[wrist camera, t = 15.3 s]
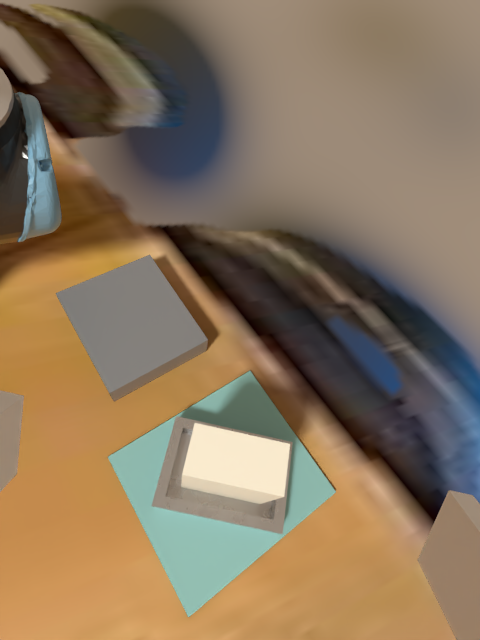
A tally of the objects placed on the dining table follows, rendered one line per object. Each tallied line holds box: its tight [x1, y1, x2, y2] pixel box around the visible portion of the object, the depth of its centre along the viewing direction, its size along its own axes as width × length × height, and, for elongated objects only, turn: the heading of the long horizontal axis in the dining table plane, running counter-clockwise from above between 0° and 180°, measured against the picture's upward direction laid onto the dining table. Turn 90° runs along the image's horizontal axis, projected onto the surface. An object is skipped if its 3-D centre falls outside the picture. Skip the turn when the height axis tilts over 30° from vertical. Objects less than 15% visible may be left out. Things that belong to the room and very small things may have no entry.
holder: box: [152, 416, 293, 534], centre depth 38 cm, size 8×12×2 cm
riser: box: [56, 255, 208, 401], centre depth 44 cm, size 12×14×3 cm
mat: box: [108, 371, 336, 617], centre depth 39 cm, size 18×16×1 cm
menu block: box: [181, 423, 290, 504], centre depth 34 cm, size 4×8×10 cm, turn 79°
